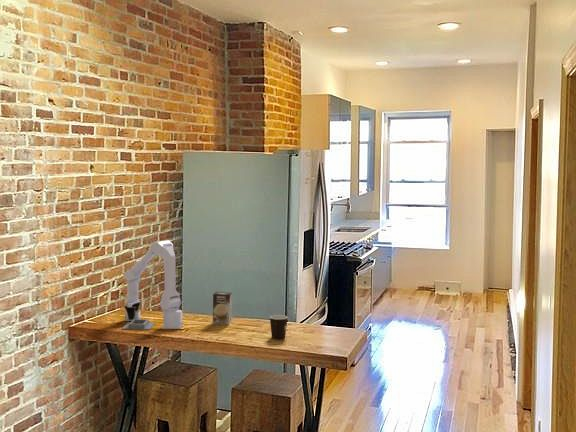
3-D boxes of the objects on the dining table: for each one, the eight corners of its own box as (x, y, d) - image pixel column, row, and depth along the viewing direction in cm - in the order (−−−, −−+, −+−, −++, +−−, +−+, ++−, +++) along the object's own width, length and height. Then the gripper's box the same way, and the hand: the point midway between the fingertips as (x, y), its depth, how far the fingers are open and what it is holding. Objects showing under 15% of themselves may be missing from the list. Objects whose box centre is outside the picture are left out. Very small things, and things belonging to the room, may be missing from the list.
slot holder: (155, 323, 338) (155, 318, 338) (149, 330, 325) (150, 325, 325) (128, 323, 338) (128, 318, 338) (121, 329, 325) (121, 324, 325)
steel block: (140, 320, 346) (140, 310, 346) (138, 322, 342) (138, 312, 341) (127, 319, 346) (127, 310, 346) (125, 321, 342) (125, 312, 341)
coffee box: (211, 324, 339) (212, 293, 338) (214, 321, 345) (214, 291, 344) (229, 325, 338) (229, 294, 337) (231, 322, 344) (232, 292, 343)
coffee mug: (277, 334, 322) (277, 314, 321) (290, 337, 316) (291, 317, 316) (261, 338, 313) (261, 318, 312) (275, 342, 308) (275, 321, 307)
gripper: (128, 289, 350) (128, 314, 351) (121, 294, 335) (121, 321, 337) (141, 289, 350) (141, 314, 351) (135, 295, 335) (135, 321, 336)
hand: (132, 317), depth 344 cm, fingers open, 7 cm apart
